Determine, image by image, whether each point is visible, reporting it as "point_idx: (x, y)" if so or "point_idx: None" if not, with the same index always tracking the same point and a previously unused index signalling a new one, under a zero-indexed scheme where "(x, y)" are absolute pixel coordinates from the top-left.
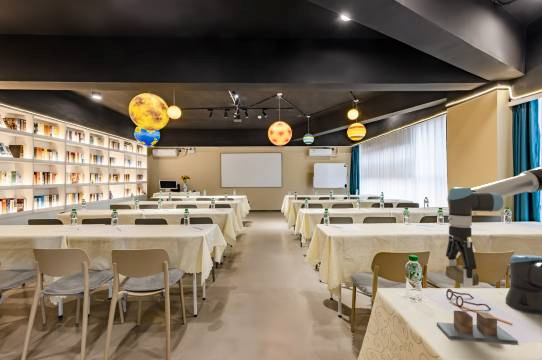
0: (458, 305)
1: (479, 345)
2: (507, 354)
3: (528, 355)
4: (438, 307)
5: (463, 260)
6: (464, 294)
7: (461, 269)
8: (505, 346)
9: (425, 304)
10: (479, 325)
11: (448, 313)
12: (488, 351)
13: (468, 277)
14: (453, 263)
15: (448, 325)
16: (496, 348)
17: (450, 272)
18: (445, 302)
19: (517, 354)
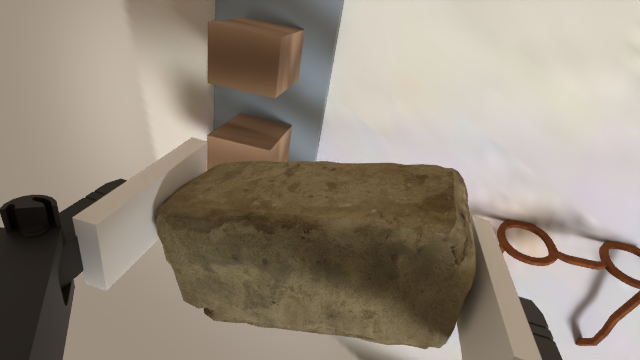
0: (521, 224)
1: (188, 43)
2: (148, 97)
3: (156, 156)
4: (540, 116)
5: (16, 310)
6: (603, 327)
7: (298, 281)
8: (195, 133)
9: (605, 65)
10: (267, 127)
11: (460, 118)
12: (154, 45)
13: (114, 185)
14: (480, 348)
15: (314, 7)
16: (178, 91)
17: (379, 191)
18: (584, 196)
19: (155, 129)
